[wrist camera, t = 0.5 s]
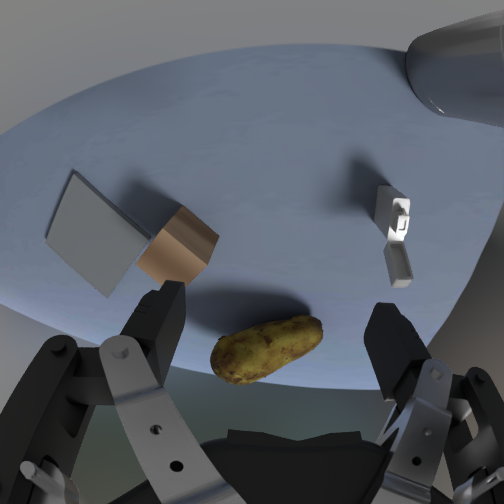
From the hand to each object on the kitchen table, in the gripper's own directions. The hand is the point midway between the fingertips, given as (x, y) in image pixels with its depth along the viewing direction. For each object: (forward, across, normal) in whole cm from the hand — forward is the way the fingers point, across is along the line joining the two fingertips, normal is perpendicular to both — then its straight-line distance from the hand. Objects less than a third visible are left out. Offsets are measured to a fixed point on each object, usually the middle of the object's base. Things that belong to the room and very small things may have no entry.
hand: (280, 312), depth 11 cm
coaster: (+19, +21, +7) cm, 29 cm away
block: (+18, +8, +5) cm, 21 cm away
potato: (+19, -2, +16) cm, 25 cm away
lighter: (+18, -12, 0) cm, 21 cm away
